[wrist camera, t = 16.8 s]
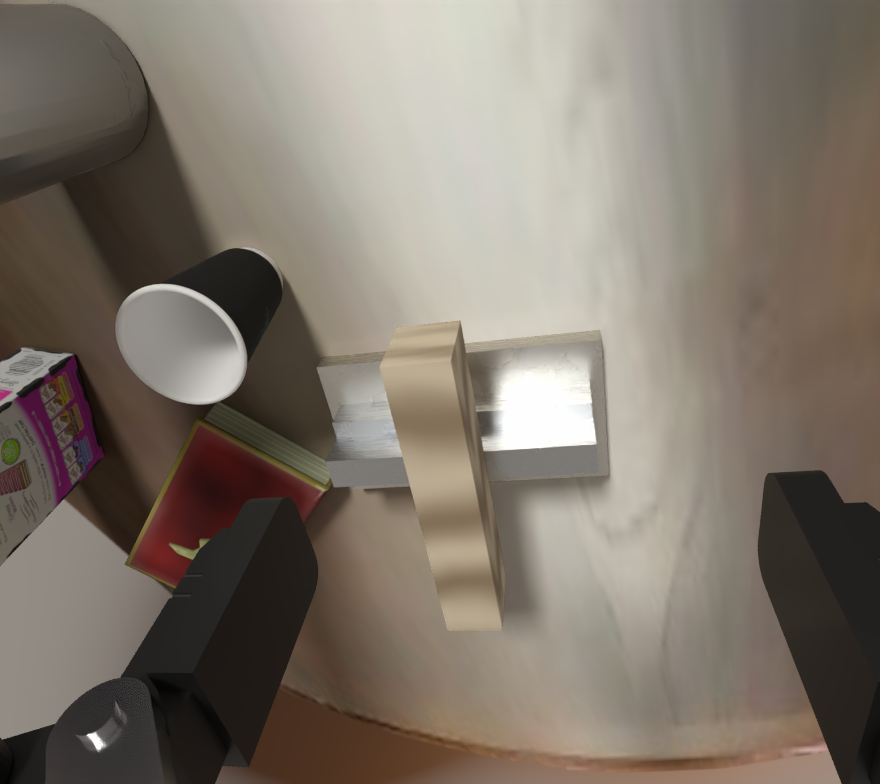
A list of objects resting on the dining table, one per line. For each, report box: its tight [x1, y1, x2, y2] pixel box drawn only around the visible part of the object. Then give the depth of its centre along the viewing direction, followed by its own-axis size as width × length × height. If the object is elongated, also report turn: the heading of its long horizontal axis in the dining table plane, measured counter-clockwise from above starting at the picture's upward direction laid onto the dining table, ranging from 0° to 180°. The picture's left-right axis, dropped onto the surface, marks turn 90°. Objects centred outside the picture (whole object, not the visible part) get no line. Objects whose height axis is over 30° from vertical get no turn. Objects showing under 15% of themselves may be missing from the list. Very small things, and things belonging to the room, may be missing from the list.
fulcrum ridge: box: [316, 330, 609, 489], centre depth 47 cm, size 21×12×7 cm, turn 100°
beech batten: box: [379, 321, 506, 631], centre depth 42 cm, size 22×4×5 cm, turn 10°
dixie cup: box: [115, 247, 283, 405], centre depth 41 cm, size 8×8×11 cm
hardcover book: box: [125, 401, 333, 589], centre depth 57 cm, size 12×21×4 cm, turn 148°
